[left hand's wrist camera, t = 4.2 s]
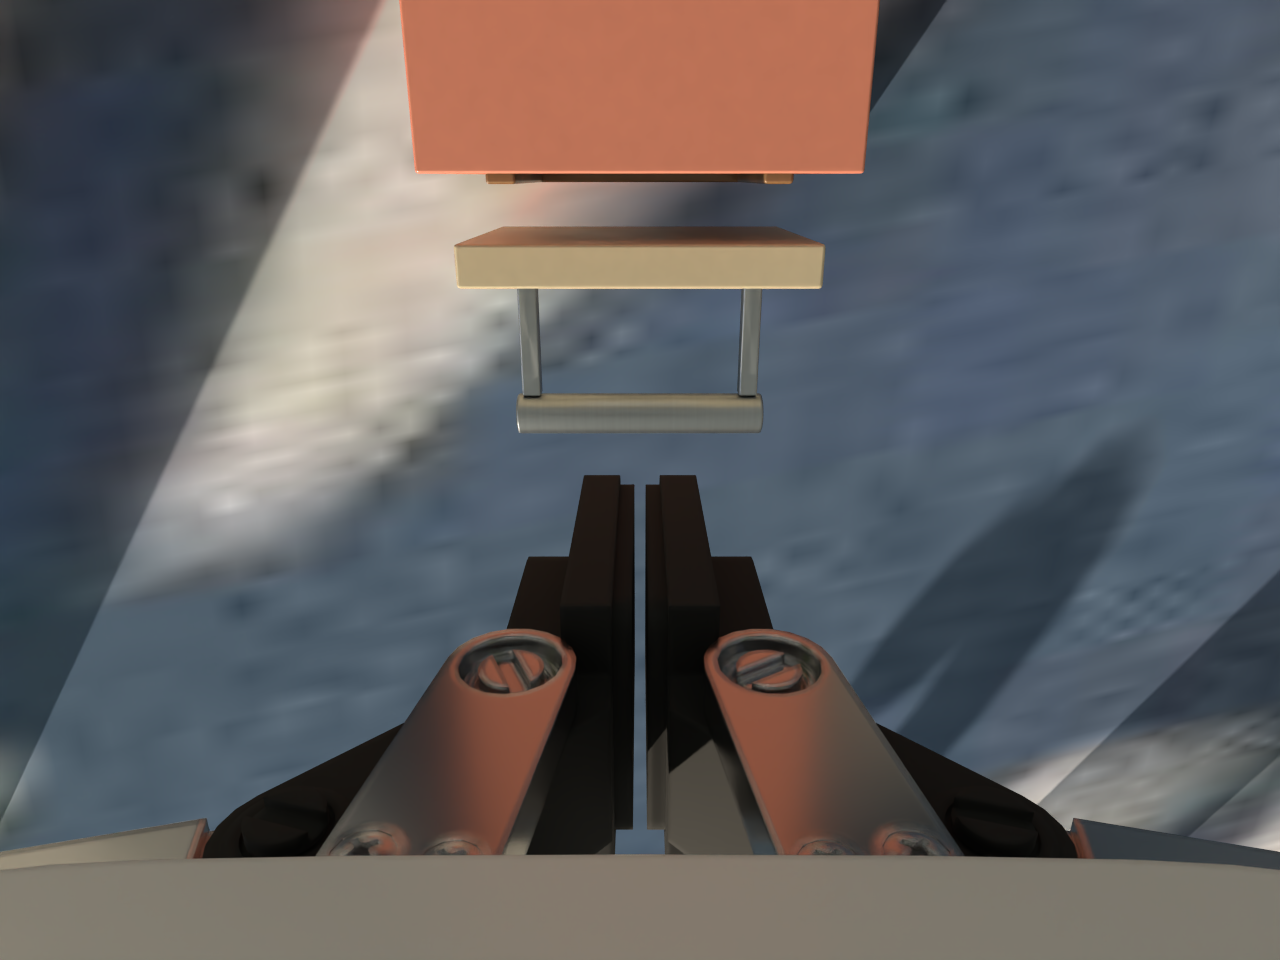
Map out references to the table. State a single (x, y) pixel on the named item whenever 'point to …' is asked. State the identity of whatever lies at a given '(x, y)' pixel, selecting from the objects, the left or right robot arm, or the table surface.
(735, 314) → the table surface
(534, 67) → the cabinet
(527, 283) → the drawer
